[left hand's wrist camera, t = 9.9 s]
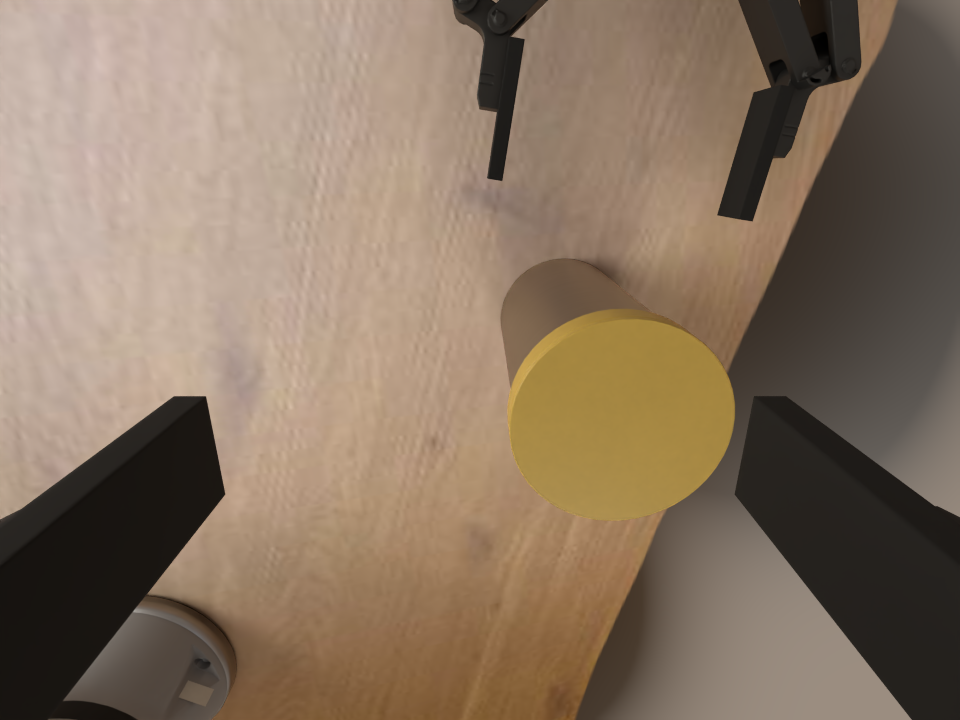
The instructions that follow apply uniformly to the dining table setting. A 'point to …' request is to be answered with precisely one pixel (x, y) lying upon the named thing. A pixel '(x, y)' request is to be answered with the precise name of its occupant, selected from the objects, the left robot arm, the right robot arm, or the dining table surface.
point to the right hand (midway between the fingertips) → (615, 200)
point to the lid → (619, 415)
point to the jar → (554, 304)
